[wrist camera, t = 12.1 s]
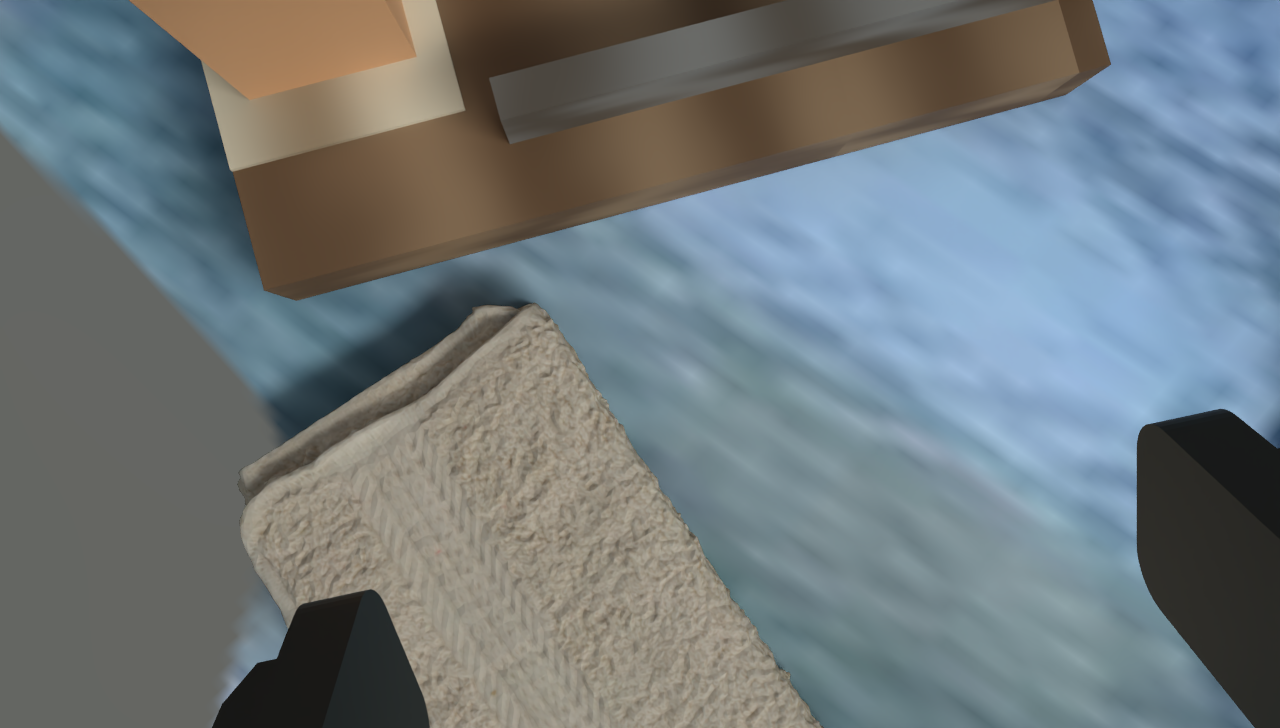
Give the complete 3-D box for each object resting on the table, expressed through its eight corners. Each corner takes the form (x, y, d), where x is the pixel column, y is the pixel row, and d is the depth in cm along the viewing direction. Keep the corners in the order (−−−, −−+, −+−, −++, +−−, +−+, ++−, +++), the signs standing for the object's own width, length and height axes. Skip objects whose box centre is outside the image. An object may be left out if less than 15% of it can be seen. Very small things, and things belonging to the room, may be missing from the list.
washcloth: (527, 280, 33) (518, 268, 30) (840, 732, 33) (864, 767, 30) (222, 489, 32) (182, 498, 29) (538, 950, 32) (531, 1008, 29)
